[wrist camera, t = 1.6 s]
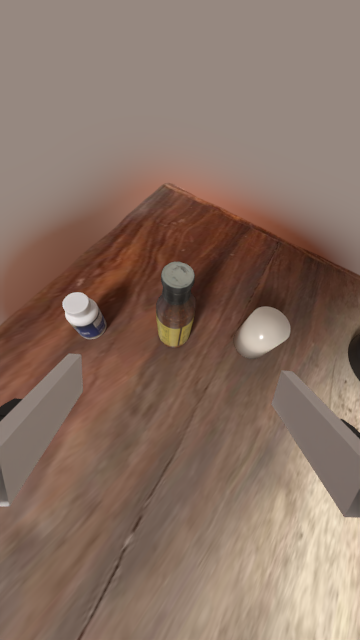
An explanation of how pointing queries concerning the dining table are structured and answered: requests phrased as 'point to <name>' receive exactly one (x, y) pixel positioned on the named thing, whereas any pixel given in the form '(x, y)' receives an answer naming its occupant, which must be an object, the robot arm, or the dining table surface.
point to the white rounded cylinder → (261, 332)
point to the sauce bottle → (176, 304)
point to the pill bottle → (84, 315)
